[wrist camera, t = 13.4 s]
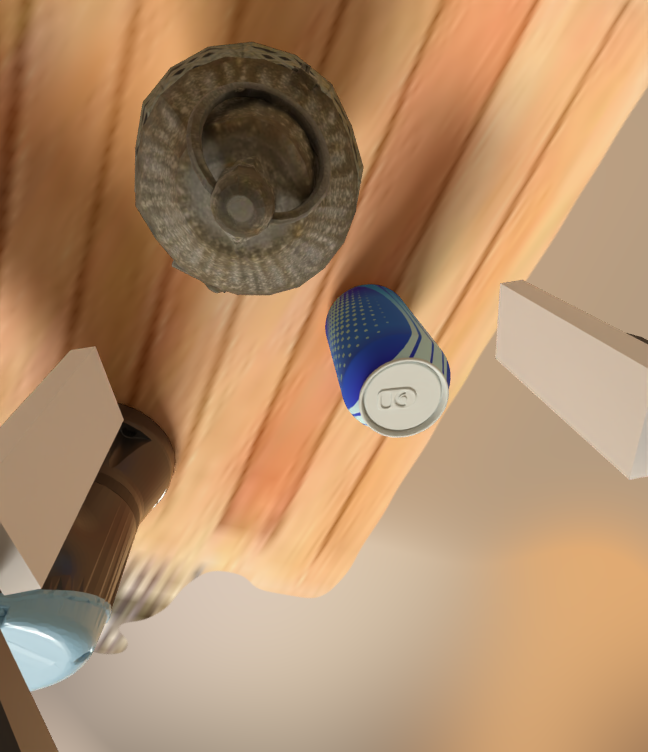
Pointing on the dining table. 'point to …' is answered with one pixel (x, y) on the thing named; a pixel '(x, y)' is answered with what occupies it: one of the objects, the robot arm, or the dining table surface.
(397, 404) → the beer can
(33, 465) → the robot arm
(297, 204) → the lantern
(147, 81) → the dining table surface
